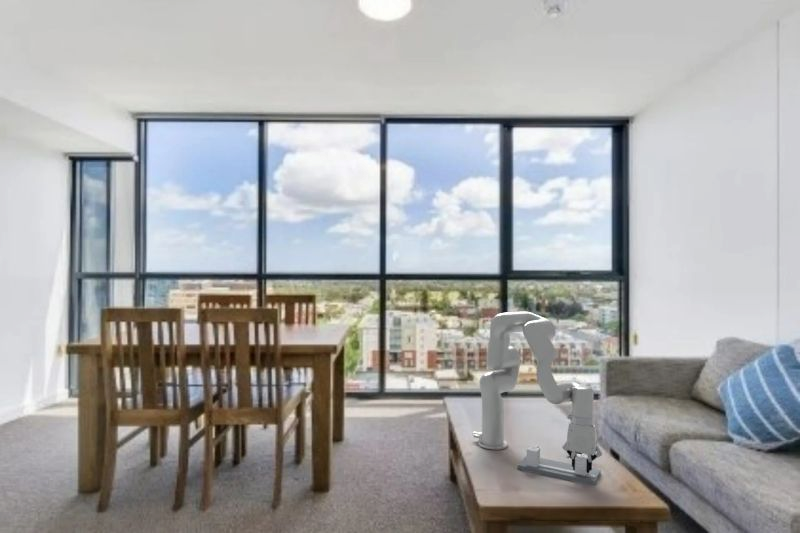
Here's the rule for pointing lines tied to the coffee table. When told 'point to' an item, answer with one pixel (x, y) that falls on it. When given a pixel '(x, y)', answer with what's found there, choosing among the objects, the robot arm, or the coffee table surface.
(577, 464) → the sliding block
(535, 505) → the coffee table surface
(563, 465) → the plate
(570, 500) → the coffee table surface
